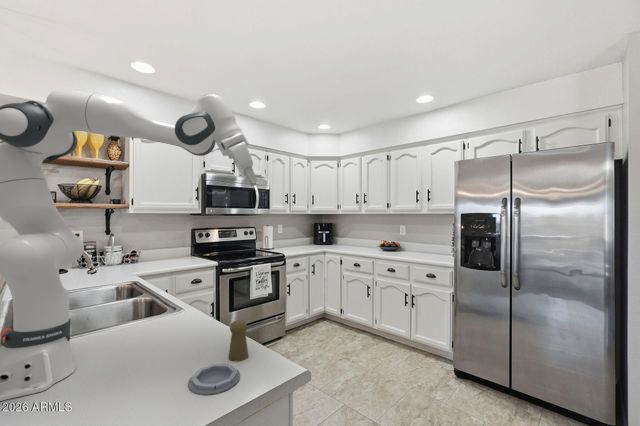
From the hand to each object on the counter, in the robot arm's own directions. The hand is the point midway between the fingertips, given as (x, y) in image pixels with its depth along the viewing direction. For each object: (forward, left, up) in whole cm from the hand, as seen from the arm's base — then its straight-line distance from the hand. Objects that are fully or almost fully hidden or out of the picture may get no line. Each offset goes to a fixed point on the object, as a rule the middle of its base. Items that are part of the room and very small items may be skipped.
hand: (254, 184), depth 94 cm
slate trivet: (-15, -6, -54) cm, 57 cm away
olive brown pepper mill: (-4, +2, -54) cm, 55 cm away
